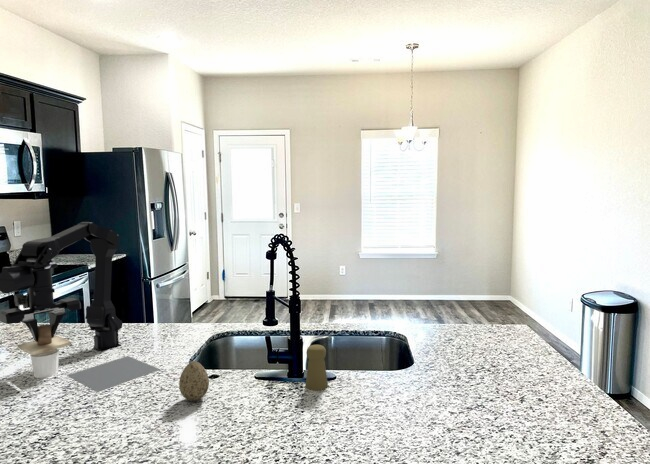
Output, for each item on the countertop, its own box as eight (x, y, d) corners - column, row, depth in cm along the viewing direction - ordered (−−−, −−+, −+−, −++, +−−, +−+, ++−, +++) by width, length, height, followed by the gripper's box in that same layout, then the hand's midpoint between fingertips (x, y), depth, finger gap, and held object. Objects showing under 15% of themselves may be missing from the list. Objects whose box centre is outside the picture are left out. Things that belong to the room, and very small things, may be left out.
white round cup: (65, 371, 128) (64, 348, 128) (48, 381, 121) (47, 356, 121) (44, 370, 129) (42, 347, 128) (26, 380, 122) (24, 356, 121)
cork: (325, 392, 113) (325, 350, 112) (302, 390, 114) (302, 349, 113) (329, 382, 119) (329, 342, 118) (308, 380, 120) (307, 341, 119)
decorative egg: (214, 400, 109) (213, 361, 108) (187, 409, 105) (185, 369, 104) (201, 390, 115) (200, 353, 114) (175, 399, 110) (173, 360, 109)
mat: (128, 357, 138) (127, 355, 138) (160, 371, 127) (160, 369, 127) (67, 377, 124) (66, 375, 124) (97, 394, 113) (97, 392, 113)
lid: (56, 337, 131) (55, 319, 131) (71, 344, 125) (70, 324, 125) (17, 347, 123) (16, 327, 123) (31, 355, 117) (30, 334, 117)
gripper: (63, 277, 135) (66, 326, 137) (-10, 288, 120) (-5, 343, 122) (80, 281, 128) (83, 332, 130) (5, 293, 114) (9, 351, 115)
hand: (44, 339), depth 124 cm, fingers closed on lid, 3 cm apart
